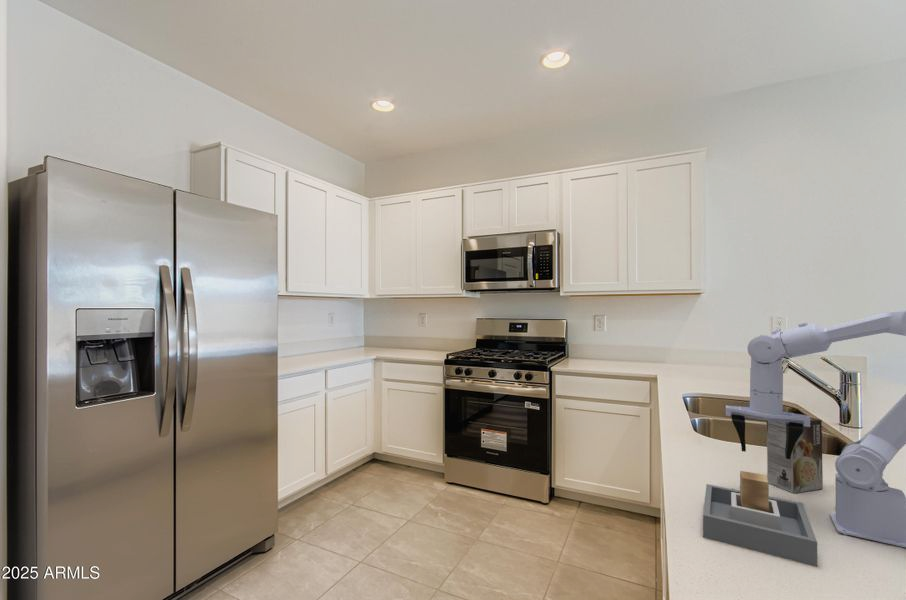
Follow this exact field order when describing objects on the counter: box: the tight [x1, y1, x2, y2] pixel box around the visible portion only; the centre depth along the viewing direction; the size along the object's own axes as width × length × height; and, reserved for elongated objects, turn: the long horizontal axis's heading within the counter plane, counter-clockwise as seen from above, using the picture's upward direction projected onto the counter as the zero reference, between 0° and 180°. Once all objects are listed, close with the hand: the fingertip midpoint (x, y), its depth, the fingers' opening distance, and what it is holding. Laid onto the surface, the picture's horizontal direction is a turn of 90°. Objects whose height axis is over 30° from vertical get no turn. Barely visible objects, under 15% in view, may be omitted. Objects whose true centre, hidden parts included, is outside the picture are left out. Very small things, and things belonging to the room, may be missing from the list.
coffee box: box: [766, 416, 824, 494], centre depth 99 cm, size 9×6×16 cm
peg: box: [739, 470, 770, 513], centre depth 80 cm, size 4×4×9 cm
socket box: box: [702, 483, 818, 567], centre depth 80 cm, size 16×16×5 cm
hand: (765, 453), depth 91 cm, fingers open, 7 cm apart
